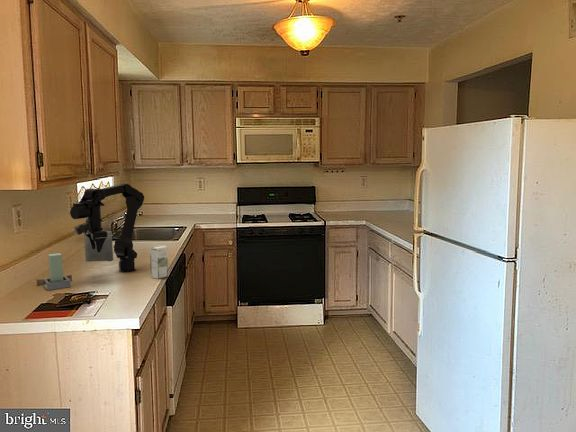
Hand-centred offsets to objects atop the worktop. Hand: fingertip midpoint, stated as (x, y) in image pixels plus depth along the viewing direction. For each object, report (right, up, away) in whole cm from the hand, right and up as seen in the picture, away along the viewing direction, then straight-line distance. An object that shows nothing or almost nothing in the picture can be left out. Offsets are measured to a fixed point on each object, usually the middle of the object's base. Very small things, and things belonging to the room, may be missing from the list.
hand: (96, 250), depth 218 cm
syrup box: (+28, -13, +4) cm, 31 cm away
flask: (-14, -8, +40) cm, 44 cm away
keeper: (-12, -15, -11) cm, 22 cm away
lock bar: (-13, -15, -11) cm, 22 cm away
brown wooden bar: (-16, -14, -5) cm, 22 cm away
